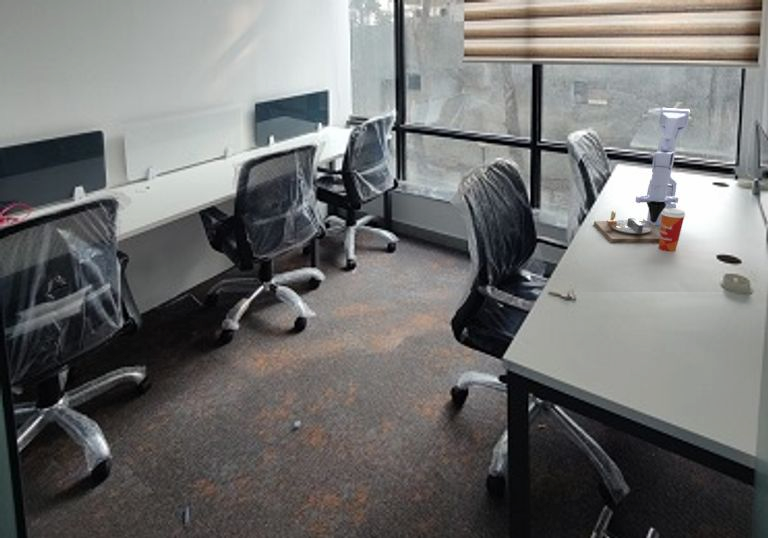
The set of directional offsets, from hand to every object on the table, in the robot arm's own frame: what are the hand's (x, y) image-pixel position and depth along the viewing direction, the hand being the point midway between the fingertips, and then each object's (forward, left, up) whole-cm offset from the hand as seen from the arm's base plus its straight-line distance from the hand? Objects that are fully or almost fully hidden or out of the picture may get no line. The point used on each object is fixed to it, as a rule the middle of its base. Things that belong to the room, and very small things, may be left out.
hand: (653, 221), depth 226 cm
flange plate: (+7, -4, -4) cm, 9 cm away
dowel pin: (+11, -11, -5) cm, 16 cm away
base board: (+6, -5, -6) cm, 10 cm away
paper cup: (-1, +12, -6) cm, 14 cm away
